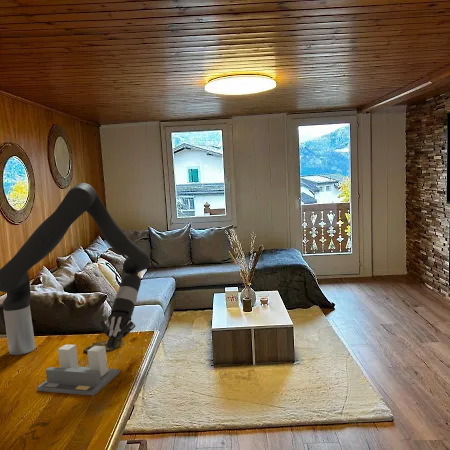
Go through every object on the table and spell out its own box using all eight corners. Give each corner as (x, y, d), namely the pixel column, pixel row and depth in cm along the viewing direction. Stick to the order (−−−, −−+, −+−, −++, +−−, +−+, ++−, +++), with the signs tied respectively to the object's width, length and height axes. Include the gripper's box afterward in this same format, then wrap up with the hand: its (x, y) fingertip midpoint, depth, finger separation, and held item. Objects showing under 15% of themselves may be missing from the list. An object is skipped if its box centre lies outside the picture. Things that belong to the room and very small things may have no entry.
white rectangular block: (68, 368, 150) (65, 344, 149) (78, 369, 149) (75, 344, 148) (60, 374, 146) (57, 349, 145) (71, 374, 145) (68, 349, 144)
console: (67, 369, 153) (65, 354, 153) (119, 372, 147) (118, 357, 147) (37, 390, 139) (35, 374, 138) (93, 395, 133) (91, 379, 132)
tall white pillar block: (97, 370, 147) (94, 345, 145) (108, 371, 145) (105, 346, 144) (90, 376, 143) (87, 350, 142) (101, 377, 142) (98, 351, 140)
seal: (86, 360, 163) (127, 350, 169) (84, 348, 162) (126, 338, 168) (81, 349, 171) (121, 339, 178) (80, 337, 170) (119, 328, 177)
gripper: (103, 296, 160) (87, 343, 150) (137, 297, 156) (123, 345, 146) (113, 306, 165) (98, 352, 155) (145, 307, 162) (132, 353, 151)
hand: (110, 348), depth 151 cm, fingers closed
